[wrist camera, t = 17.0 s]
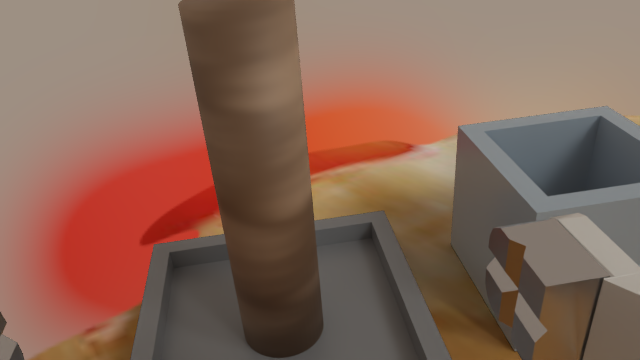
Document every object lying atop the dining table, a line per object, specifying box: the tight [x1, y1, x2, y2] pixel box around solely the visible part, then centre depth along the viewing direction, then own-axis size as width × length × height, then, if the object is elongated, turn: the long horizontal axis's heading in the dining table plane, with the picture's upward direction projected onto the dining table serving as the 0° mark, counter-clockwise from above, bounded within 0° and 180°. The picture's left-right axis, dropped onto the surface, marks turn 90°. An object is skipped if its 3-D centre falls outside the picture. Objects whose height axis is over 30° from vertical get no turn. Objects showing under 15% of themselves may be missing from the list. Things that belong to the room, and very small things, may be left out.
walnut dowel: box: [178, 0, 324, 358], centre depth 22 cm, size 4×4×16 cm
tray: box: [130, 211, 452, 360], centre depth 26 cm, size 14×14×2 cm
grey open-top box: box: [451, 106, 640, 351], centre depth 27 cm, size 8×8×8 cm
